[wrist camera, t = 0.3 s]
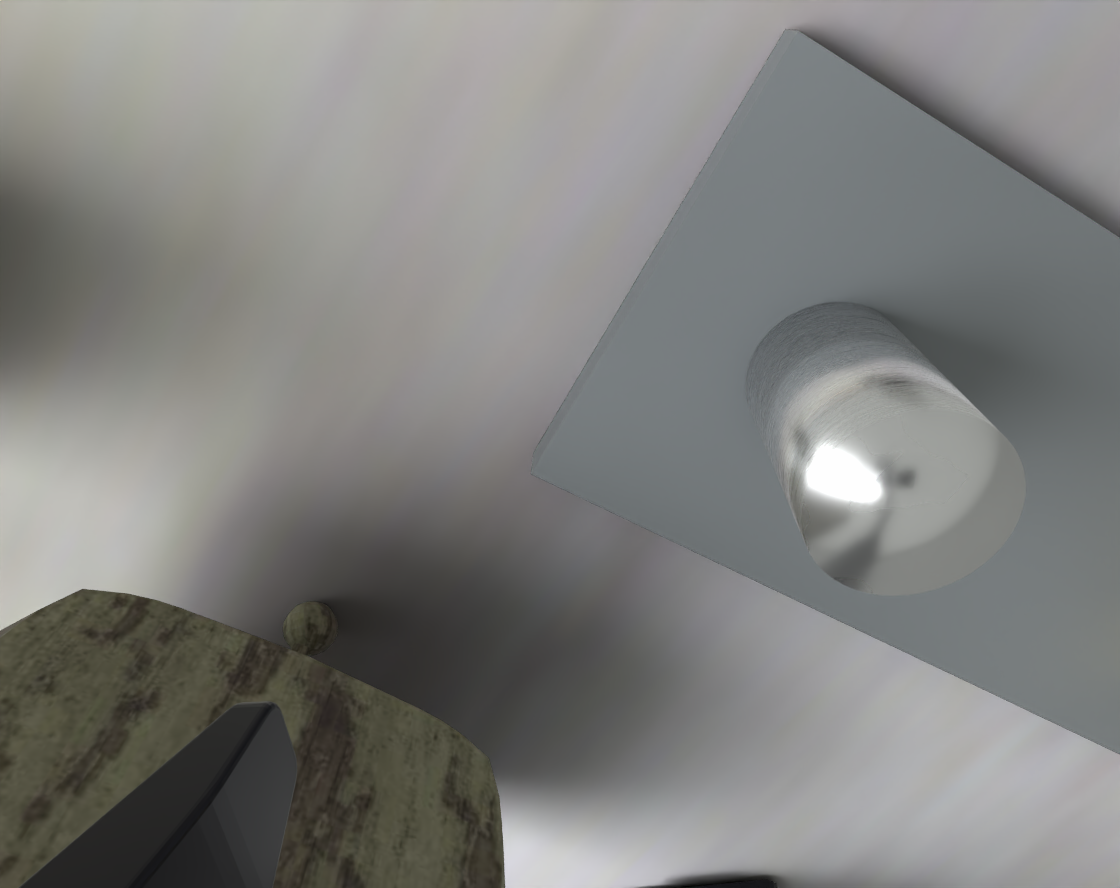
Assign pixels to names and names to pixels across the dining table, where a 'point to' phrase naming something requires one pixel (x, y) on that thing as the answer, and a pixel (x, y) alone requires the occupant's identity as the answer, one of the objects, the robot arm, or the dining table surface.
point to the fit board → (963, 315)
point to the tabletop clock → (197, 701)
